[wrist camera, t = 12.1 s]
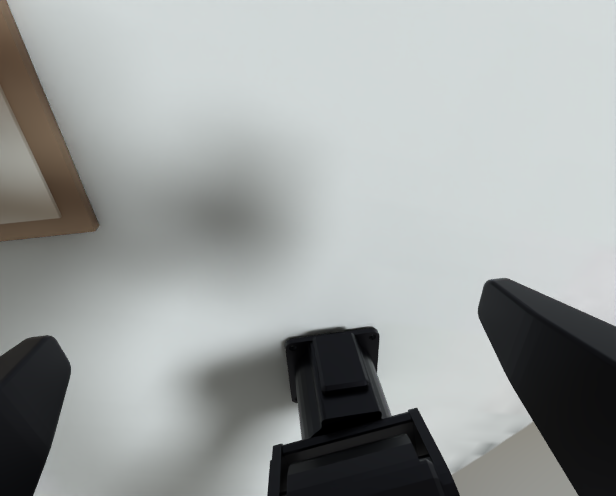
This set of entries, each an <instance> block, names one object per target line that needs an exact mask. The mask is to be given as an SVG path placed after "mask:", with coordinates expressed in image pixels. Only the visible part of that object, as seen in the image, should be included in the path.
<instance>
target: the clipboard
mask: <svg viewBox="0 0 616 496" xmlns="http://www.w3.org/2000/svg"><path fill="white" fill-rule="evenodd" d="M98 227H99V224H98V221H97V219H96V216H95V214H94V212H93V209H92V207H91V204H90V202H89V200H88V197H87V195H86V192H85V190H84V187H83V185H82V183H81V180H80V178H79V175H78V173H77V171H76V168H75V166H74V163H73V161H72V158H71V156H70V154H69V151H68V149H67V146H66V144H65V142H64V139H63V137H62V134H61V132H60V129H59V127H58V125H57V122H56V120H55V117H54V115H53V112H52V110H51V108H50V105H49V103H48V100H47V98H46V96H45V93H44V91H43V88H42V86H41V83H40V81H39V79H38V76H37V74H36V71H35V69H34V67H33V64H32V62H31V59H30V57H29V54H28V52H27V50H26V47H25V45H24V42H23V40H22V38H21V35H20V33H19V30H18V28H17V25H16V23H15V21H14V18H13V16H12V13H11V11H10V9H9V6H8V4H7V1H6V0H0V241H8V240H18V239H27V238H37V237H46V236H56V235H65V234H75V233H84V232H94V231H96V229H97V228H98Z"/></svg>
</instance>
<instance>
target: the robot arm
mask: <svg viewBox="0 0 616 496" xmlns="http://www.w3.org/2000/svg"><path fill="white" fill-rule="evenodd" d="M478 316H479V319H480V321H481V323H482V326H483V328H484V330H485V332H486V334H487V336H488V338H489V340H490V342H491V344H492V347H493V349H494V351H495V353H496V355H497V357H498V359H499V361H500V363H501V365H502V367H503V370H504V372H505V374H506V376H507V377H508V379H509V381H510V383H511V385H512V386H513V388H514V390H515V392H516V393H517V395H518V397H519V398H520V400H521V402H522V403H523V405H524V406H525V408H526V410H527V411H528V413H529V415H530V416H531V418H532V420H533V421H534V423H535V425H536V426H537V428H538V429H539V431H540V433H541V434H542V436H543V438H544V439H545V441H546V442H547V444H548V446H549V448H550V449H551V451H552V452H553V454H554V456H555V457H556V459H557V461H558V462H559V464H560V465H561V467H562V469H563V471H564V472H565V474H566V476H567V477H568V479H569V481H570V482H571V484H572V485H573V487H574V489H575V490H576V492H577V494H578V495H579V496H616V326H613V325H611V324H609V323H607V322H604V321H602V320H600V319H598V318H595V317H593V316H591V315H589V314H587V313H584V312H582V311H580V310H578V309H575V308H573V307H571V306H569V305H566V304H564V303H562V302H560V301H557V300H555V299H553V298H551V297H548V296H546V295H544V294H542V293H539V292H537V291H535V290H533V289H530V288H528V287H526V286H524V285H521V284H519V283H517V282H515V281H512V280H510V279H508V278H499V279H491V280H488V281H487V282H486V283H485V284H484V287H483V291H482V295H481V299H480V302H479V306H478ZM370 335H372V336H370ZM285 349H286V357H287V365H288V373H289V381H290V389H291V396H292V401H293V402H295V403H298V410H299V419H300V427H301V436H302V440H300V441H296V442H293V443H289V444H285V445H283V444H278V445H275V446H273V452H272V460H271V461H270V471H269V483H268V496H460V495H459V492H458V490H457V487H456V485H455V483H454V480H453V478H452V475H451V473H450V471H449V469H448V467H447V465H446V463H445V461H444V459H443V457H442V455H441V453H440V451H439V449H438V447H437V445H436V443H435V442H434V440H433V438H432V436H431V434H430V432H429V430H428V428H427V426H426V424H425V422H424V420H423V418H422V416H421V414H420V413H419V411H418V409H417V408H414V409H410V410H408V412H405V413H402V414H398V415H394V416H392V415H391V413H390V410H389V407H388V404H387V401H386V398H385V396H384V393H383V390H382V387H381V384H380V381H379V378H378V376H377V363H378V349H379V333H378V331H377V330H376V329H375V328H368V329H360V330H353V331H345V332H338V333H330V334H323V335H315V336H308V337H300V338H293V339H289V340H287V341H286V343H285ZM70 375H71V365H70V362H69V360H68V358H67V357H66V355H65V353H64V352H63V350H62V349H61V347H60V345H59V344H58V342H57V340H56V339H55V338H54V337H52V336H49V335H46V336H38V337H31V338H27V339H25V340H24V341H22V342H21V343H19V344H18V345H16V346H15V347H13V348H12V349H11V350H9V351H8V352H6V353H5V354H3V355H2V356H0V496H33V494H34V492H35V489H36V487H37V484H38V481H39V479H40V476H41V473H42V471H43V468H44V465H45V463H46V460H47V457H48V454H49V451H50V448H51V445H52V442H53V438H54V435H55V431H56V427H57V424H58V420H59V416H60V412H61V409H62V405H63V401H64V397H65V394H66V390H67V386H68V383H69V379H70Z"/></svg>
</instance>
